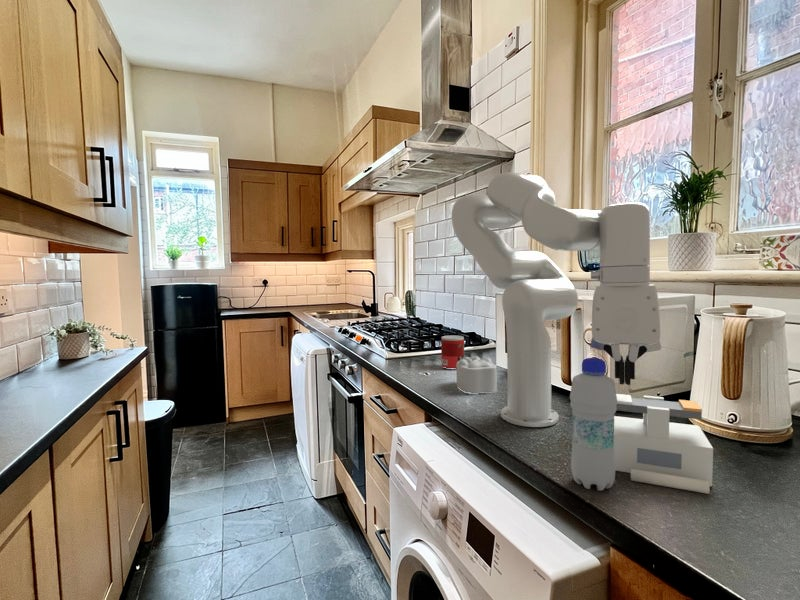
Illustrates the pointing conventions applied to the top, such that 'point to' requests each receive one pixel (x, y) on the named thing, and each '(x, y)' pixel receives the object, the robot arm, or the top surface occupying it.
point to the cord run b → (670, 481)
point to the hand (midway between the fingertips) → (624, 382)
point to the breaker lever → (676, 408)
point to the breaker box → (662, 445)
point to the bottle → (593, 425)
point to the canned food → (452, 350)
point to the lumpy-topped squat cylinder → (476, 375)
